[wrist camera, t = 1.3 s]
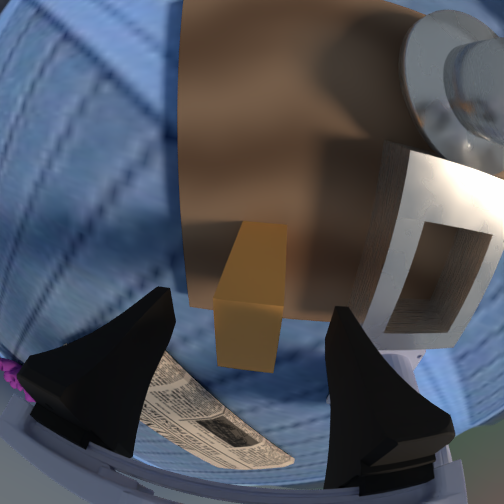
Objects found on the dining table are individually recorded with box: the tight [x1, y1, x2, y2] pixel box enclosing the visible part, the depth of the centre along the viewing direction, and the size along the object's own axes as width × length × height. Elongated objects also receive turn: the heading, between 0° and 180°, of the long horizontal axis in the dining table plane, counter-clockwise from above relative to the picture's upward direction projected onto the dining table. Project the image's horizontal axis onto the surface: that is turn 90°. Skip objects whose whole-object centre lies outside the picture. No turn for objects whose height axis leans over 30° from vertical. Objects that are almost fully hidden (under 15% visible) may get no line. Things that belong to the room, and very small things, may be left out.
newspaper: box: [63, 344, 295, 470], centre depth 33 cm, size 37×19×3 cm, turn 29°
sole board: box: [177, 0, 504, 322], centre depth 14 cm, size 21×22×2 cm
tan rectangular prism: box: [213, 221, 287, 373], centre depth 14 cm, size 4×2×7 cm, turn 178°
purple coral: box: [0, 358, 35, 402], centre depth 37 cm, size 11×15×10 cm
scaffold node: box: [347, 10, 504, 350], centre depth 10 cm, size 20×9×6 cm, turn 178°
